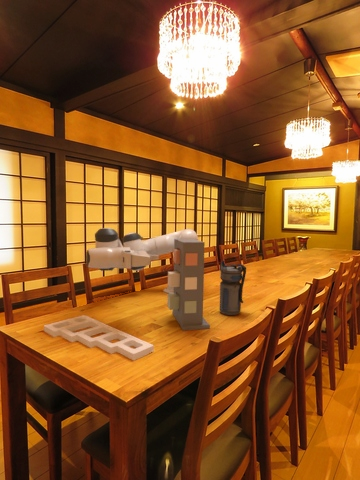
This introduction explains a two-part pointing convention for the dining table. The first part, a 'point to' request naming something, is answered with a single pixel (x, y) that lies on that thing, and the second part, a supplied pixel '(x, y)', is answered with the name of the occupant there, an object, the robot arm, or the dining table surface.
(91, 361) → the dining table surface
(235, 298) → the beverage bottle
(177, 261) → the top terracotta button
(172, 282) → the middle cream button
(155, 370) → the dining table surface
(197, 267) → the button panel
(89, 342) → the holder
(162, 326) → the dining table surface
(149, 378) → the dining table surface
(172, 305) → the bottom sage button
